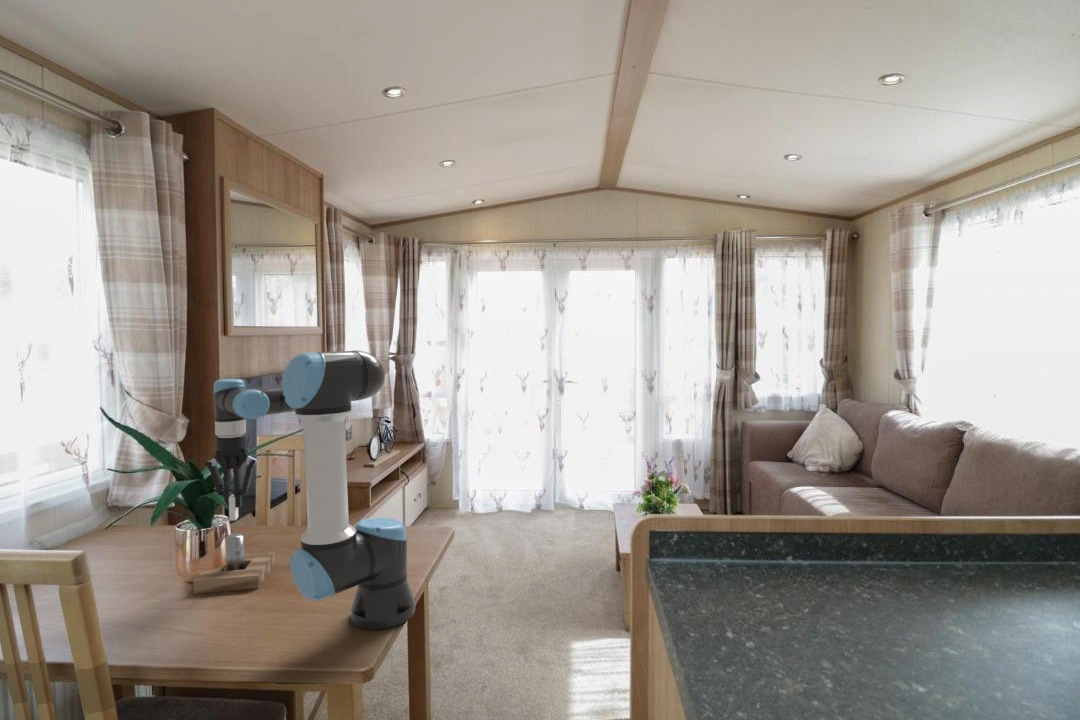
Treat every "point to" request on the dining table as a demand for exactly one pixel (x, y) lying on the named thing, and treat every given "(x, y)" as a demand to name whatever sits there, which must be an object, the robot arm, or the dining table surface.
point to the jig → (235, 575)
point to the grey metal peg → (235, 552)
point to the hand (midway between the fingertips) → (234, 518)
